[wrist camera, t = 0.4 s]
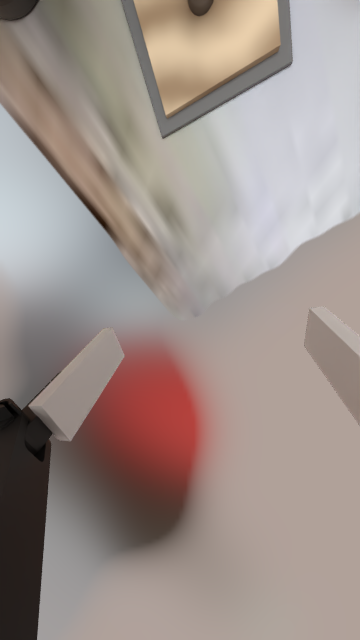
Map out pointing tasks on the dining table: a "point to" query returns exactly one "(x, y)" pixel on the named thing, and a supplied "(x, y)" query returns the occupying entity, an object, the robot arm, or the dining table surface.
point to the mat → (224, 91)
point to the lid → (205, 43)
